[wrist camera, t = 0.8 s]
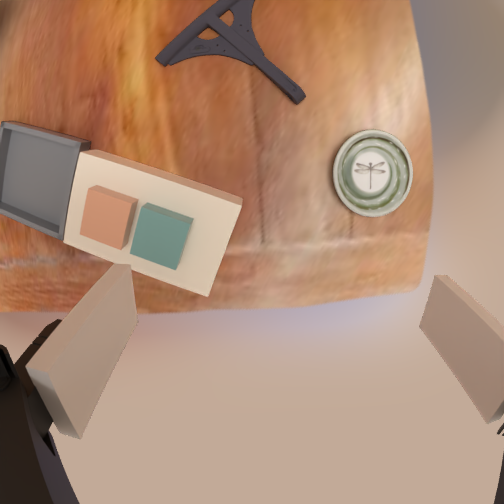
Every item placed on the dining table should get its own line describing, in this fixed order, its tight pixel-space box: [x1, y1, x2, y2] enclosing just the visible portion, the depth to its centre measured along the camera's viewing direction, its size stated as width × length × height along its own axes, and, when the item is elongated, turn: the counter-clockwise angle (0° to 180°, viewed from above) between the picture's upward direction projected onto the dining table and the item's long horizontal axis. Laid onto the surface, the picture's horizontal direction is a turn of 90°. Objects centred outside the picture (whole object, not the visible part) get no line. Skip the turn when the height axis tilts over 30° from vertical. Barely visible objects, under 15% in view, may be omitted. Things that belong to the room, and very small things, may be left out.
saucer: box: [333, 129, 413, 217], centre depth 32 cm, size 10×10×2 cm
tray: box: [0, 121, 91, 241], centre depth 31 cm, size 14×12×2 cm
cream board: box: [63, 149, 243, 297], centre depth 32 cm, size 18×11×4 cm, turn 69°
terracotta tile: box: [80, 185, 139, 250], centre depth 29 cm, size 5×5×2 cm
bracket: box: [155, 0, 306, 104], centre depth 27 cm, size 14×15×3 cm
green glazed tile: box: [130, 202, 194, 270], centre depth 30 cm, size 5×5×2 cm
